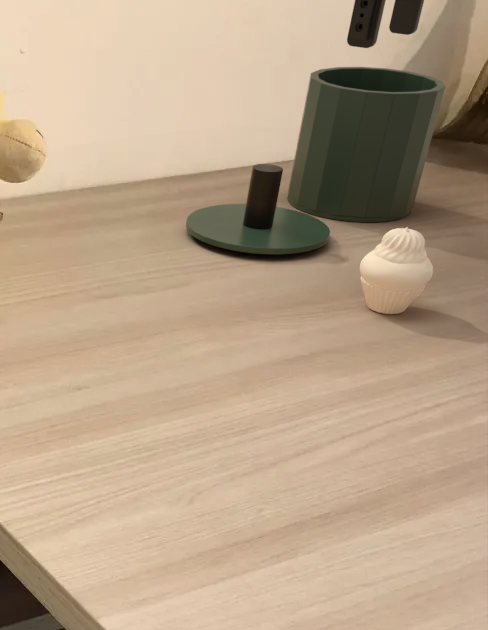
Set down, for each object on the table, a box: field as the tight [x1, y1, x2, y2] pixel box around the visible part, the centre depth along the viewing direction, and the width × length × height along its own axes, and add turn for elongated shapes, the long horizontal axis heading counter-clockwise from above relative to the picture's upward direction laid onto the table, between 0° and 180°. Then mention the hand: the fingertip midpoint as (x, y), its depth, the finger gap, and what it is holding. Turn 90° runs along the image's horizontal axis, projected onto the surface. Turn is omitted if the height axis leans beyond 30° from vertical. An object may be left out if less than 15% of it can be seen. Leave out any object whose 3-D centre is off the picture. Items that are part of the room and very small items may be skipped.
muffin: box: [359, 226, 434, 315], centre depth 90 cm, size 6×6×7 cm
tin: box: [286, 66, 446, 223], centre depth 113 cm, size 14×14×12 cm
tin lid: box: [185, 163, 331, 255], centre depth 105 cm, size 15×15×7 cm
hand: (381, 39), depth 86 cm, fingers open, 8 cm apart
